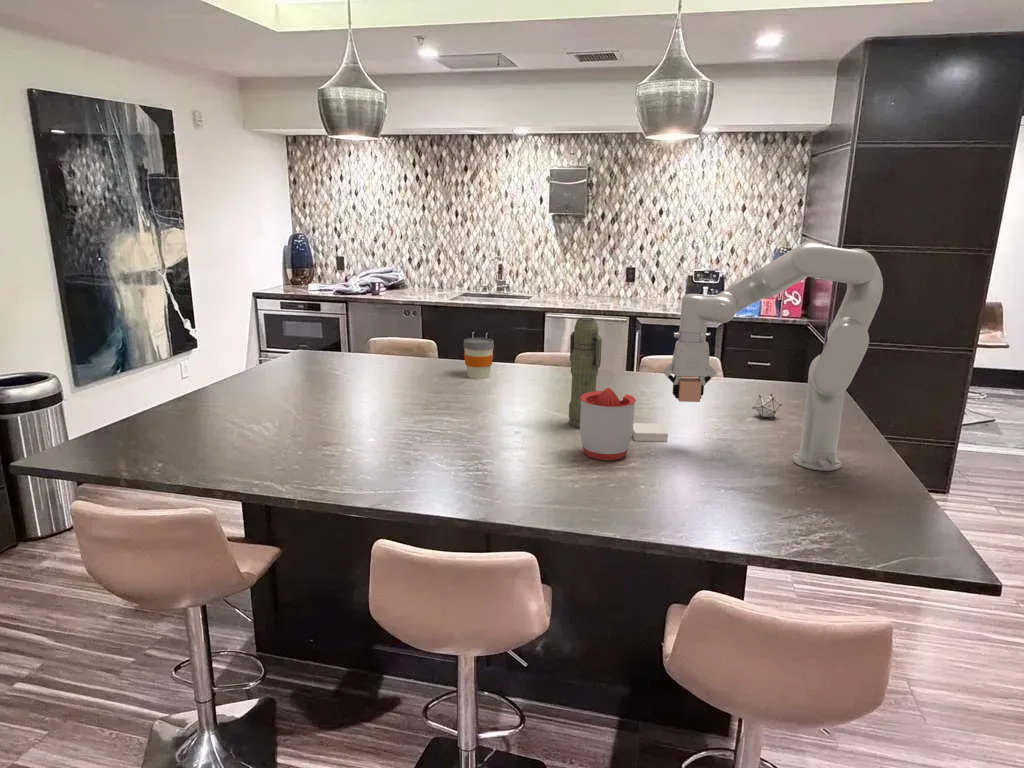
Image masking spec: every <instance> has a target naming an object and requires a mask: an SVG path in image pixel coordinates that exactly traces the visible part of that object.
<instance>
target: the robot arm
mask: <svg viewBox="0 0 1024 768" xmlns="http://www.w3.org/2000/svg"><path fill="white" fill-rule="evenodd" d="M808 277H810V278H814V279H819V280H825V281H830V282H831V281H832V282H837V283H843V284H846V292H845V294H844V297H843V300H842V302H841V304H840V307H839V309H838V311H837V313H836V315H835V318H834V320H833V321H832V323H831V325H830V326H829V328H828V330H827V337H826V338H827V341H826V343H825V345H824V348H823V350H822V352H821V354H818V355H817V356H816V357H815V358H813V360H812V361H811V363H810V366H809V369H808V377H807V378H808V379H807V387H806V397H805V405H804V412H803V413H804V414H803V421H802V429H801V436H800V443H799V444H800V445H799V452H797V453H794V454H793V455H792V461H793V463H794V464H796V465H798V466H800V467H803V468H805V469H810V470H813V471H814V470H815V471H825V472H830V471H836V470H839V469H840V468H842V467H841V466H842V461H841V460H839V459H838V458H837V453H838V452H837V451H838V443H839V437H840V430H841V423H842V415H843V411H844V410H843V409H844V403H845V402H844V401H845V394H846V393H845V392H846V390H847V389H848V388H849V386H850V385H851V383H852V381H853V379H854V377H855V374H856V373H857V371H858V369H859V368H860V365H861V363H862V361H863V359H864V356H865V355H866V352H867V350H868V349H869V344H870V336H869V335H870V334H869V332H868V331H869V327H870V326H871V324H872V321H873V319H874V317H875V314H876V312H877V310H878V307H879V306H880V303H881V300H882V296H883V292H884V282H883V281H884V279H883V276H882V272H881V270H880V267H879V265H878V264H877V262H876V259H875V257H874V256H873V255H872V254H871V253H870V252H868V251H866V250H865V249H861V248H851V249H850V248H843V247H836V246H829V245H826V244H821V243H819V242H816V241H806V242H803V243H801V244H799V245H798V246H795V247H794V248H792V249H790V250H789V251H787V252H786V253H784V254H782V255H781V256H779V257H778V258H775V259H774V260H772V261H770V262H769V263H767V264H766V265H765V264H764V265H763V266H762V267H760V268H758V269H756V270H755V271H753V272H752V274H751V273H750V274H749V275H748V276H746V277H745V278H743V279H741V280H740V281H738V282H736V283H734V284H732V285H731V286H730V287H727V288H726V289H724V290H723V291H721V292H719V293H718V294H716V295H715V296H708V295H705V294H701V293H687V294H684V295H682V299H681V305H680V307H681V308H680V319H679V329H678V331H677V332H673V337H674V338H675V339H676V338H677V339H678V340H676V342H675V346H674V349H673V354H672V361H671V363H670V364H668V366H666V367H665V368H664V369H663V370H662V373H663V374H664V376H665V377H666V378H668V379H669V380H670V382H672V384H673V385H672V395H673V396H674V398H675V399H677V398H678V397H679V385H678V384H679V383H678V382H679V380H680V378H681V377H697V378H698V379H699V380H700V381H701V382H702V384H701V396H700V400H702V396H704V389H705V385H707V384H708V382H709V381H710V380H711V379H712V378H713V377H715V376H716V375H717V372H716V370H715V369H714V368H713V367H712V366H711V365H710V346H709V342H708V341H706V338H707V330H708V329H707V328H708V322H712V323H716V324H725V323H728V322H730V321H731V320H732V319H733V318H734V317H735V315H736V314H737V313H739V312H741V311H742V310H744V309H746V308H747V307H749V306H751V305H753V304H755V303H757V302H759V301H761V300H764V299H767V298H772V297H775V296H777V295H778V294H781V293H782V292H784V291H785V290H788V289H789V288H791V287H793V286H795V285H796V284H798V283H800V282H802V281H803V280H805V279H807V278H808ZM670 372H671V373H673V375H674V376H673V375H672V374H671V373H670Z"/></svg>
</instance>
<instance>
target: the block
mask: <svg viewBox="0 0 1024 768" xmlns="http://www.w3.org/2000/svg"><path fill="white" fill-rule="evenodd" d="M668 435H669V434H668V432H667V429H666V428H665V426H664V424H662V423H648V422H647V423H645V422H644V423H643V422H642V423H640V422H638V423H637V422H633V432H632V438H633V441H635V442H664V443H665V442H668Z"/></svg>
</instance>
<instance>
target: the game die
mask: <svg viewBox="0 0 1024 768" xmlns="http://www.w3.org/2000/svg"><path fill="white" fill-rule="evenodd" d="M758 397H759V398H758V399H757V402H756V404H754V406H752V407H751V409H754V410H755V411H756V412H757V413H758V414H759V416H761V420H763V419H764V418H771V417H772V418H773V419H776V417H775V415H776V414H777V411H778V409H779V408H780V407H781V406H783V404H779V402H777V401H776V399H775V397H773V393H770V395H765V396H761V394H758Z"/></svg>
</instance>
